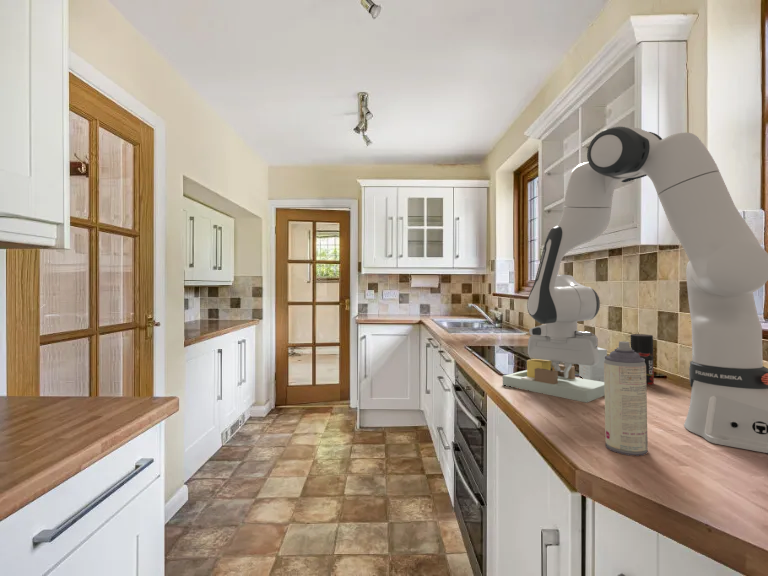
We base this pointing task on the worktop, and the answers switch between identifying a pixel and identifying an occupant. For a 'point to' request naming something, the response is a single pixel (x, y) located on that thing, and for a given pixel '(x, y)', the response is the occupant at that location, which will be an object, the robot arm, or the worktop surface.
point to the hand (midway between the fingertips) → (562, 377)
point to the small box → (594, 368)
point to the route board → (557, 384)
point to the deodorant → (644, 353)
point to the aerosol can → (625, 401)
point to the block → (537, 366)
